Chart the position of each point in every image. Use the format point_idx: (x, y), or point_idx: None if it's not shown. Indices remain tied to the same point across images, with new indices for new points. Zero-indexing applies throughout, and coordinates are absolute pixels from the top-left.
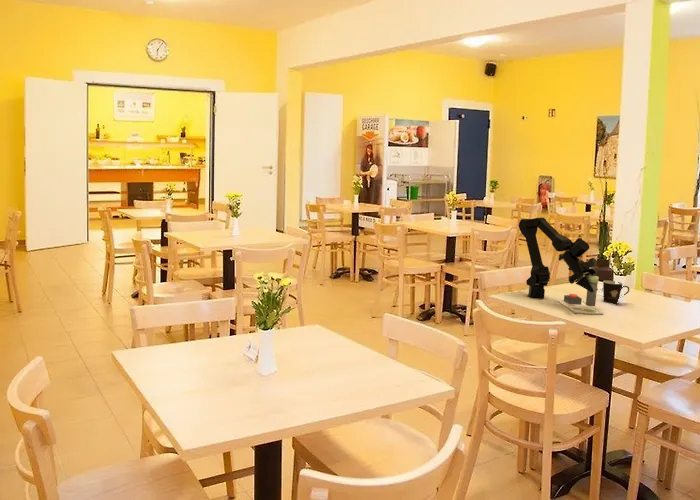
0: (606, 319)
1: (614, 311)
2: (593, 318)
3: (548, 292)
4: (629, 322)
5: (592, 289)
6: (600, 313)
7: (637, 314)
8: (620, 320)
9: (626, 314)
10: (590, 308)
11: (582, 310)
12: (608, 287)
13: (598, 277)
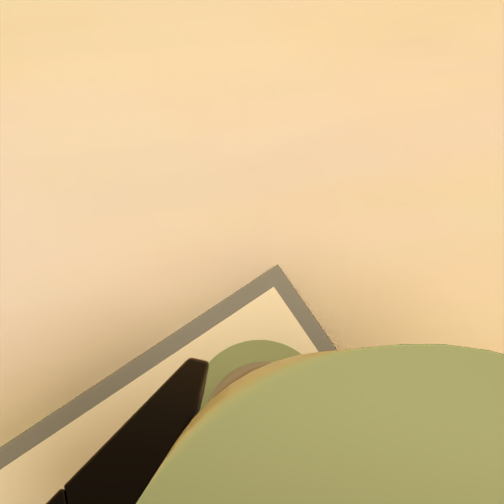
0: (435, 211)
1: (23, 205)
2: (492, 319)
3: None
4: (392, 41)
5: None
6: (289, 291)
7: (22, 20)
8: (377, 107)
9: (88, 95)
10: None
11: None
12: None
13: (397, 346)
